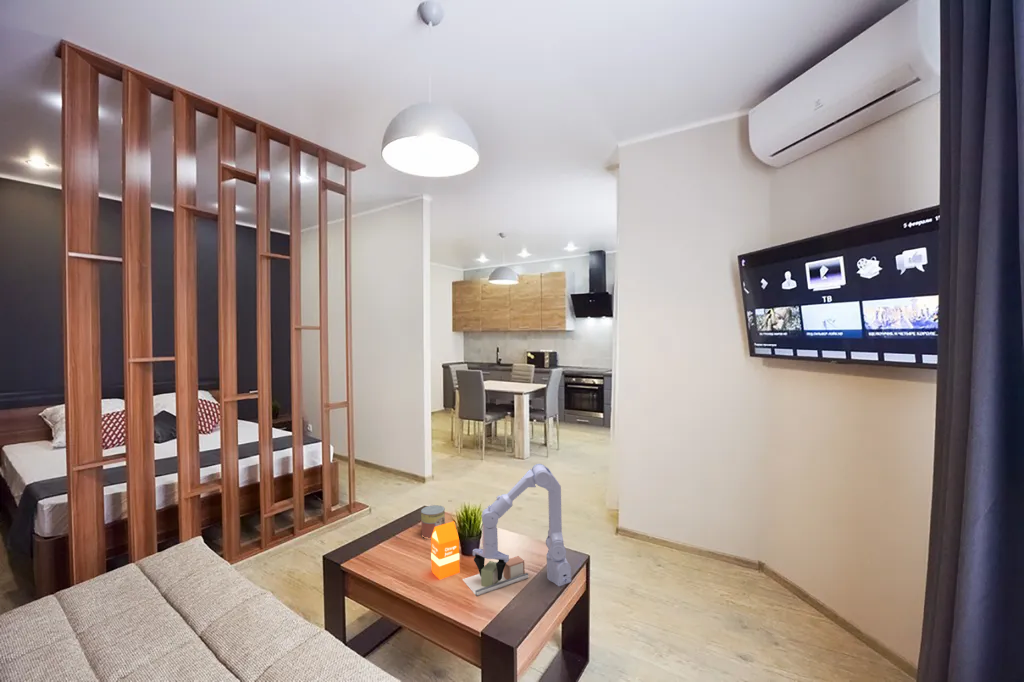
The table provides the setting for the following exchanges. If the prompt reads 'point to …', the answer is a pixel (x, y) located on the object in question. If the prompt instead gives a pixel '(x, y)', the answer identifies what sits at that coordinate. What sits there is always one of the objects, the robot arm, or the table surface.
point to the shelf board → (477, 589)
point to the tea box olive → (489, 574)
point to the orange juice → (445, 551)
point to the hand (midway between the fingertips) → (491, 577)
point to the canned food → (432, 519)
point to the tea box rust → (514, 568)
